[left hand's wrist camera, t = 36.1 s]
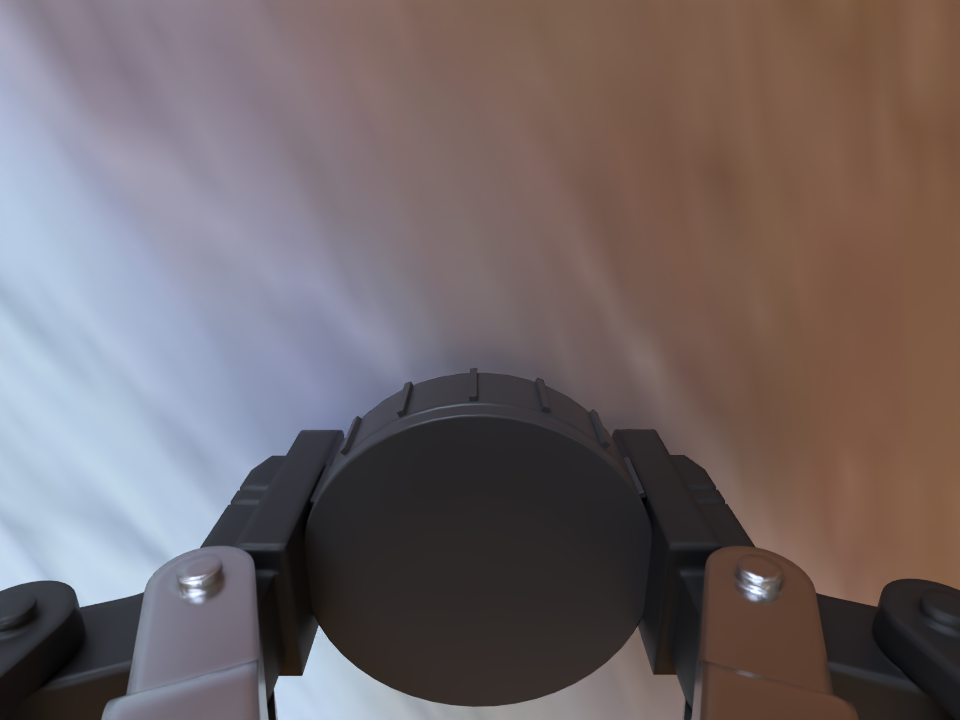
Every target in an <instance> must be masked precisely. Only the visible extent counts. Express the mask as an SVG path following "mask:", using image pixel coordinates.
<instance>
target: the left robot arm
mask: <svg viewBox="0 0 960 720" xmlns="http://www.w3.org/2000/svg"><path fill="white" fill-rule="evenodd" d="M612 439H613V440H614V442H615V443H616V445H617V447H618V448H619V450H620V452H621V454H622V456H623V458H626V457H629V459H630V461H631V463H632V466H633V468H634V470H635V472H636V474H637V477H638V479H639V481H640V483H641V485H642V488H643V490H644V492H645V494H646V497H645V498H642V502H643V504H644V506H645V509H646V511H647V514H648V516H649V518H650V521H651V524H652V531H653V532H652V543H651V552H650V561H649V569H648V578H647V587H646V595H645V604H644V612H643V617H642V619H641V621H640V622H639V624H638V627H639V630H640V633H641V637H642V640H643V643H644V646H645V649H646V653H647V656H648V659H649V662H650V665H651V668H652V672H653V675H677V676H678V679H679V682H680V685H681V688H682V690H683V693H684V696H685V700H684V707H683V715H682V720H960V590H957V589H955V588H952V587H949V586H947V585H943V584H940V583H937V582H932V581H927V580H920V579H900V580H896V581H892V582H891V583H889V584H887V585H886V586H885V587H884V588H883V591H882V593H881V596H880V600H879V604H878V607H875V606H870V605H866V604H861V603H856V602H852V601H847V600H843V599H838V598H833V597H829V596H825V595H821V594H818V593H816V592H815V588H814V585H813V583H812V581H811V579H810V578H809V577H808V575H807V574H806V573H805V572H804V571H803V570H802V569H801V568H800V567H798V566H797V565H796V564H794V563H793V562H791V561H790V560H788V559H786V558H784V557H782V556H780V555H778V554H776V553H773V552H770V551H768V550H764V549H760V548H756V547H755V546H754V544H753V543H752V541H751V540H750V538H749V537H748V535H747V533H746V532H745V530H744V529H743V527H742V526H741V524H740V523H739V521H738V520H737V518H736V517H735V515H734V514H733V512H732V510H731V509H730V507H729V506H728V504H725V500H724V498H723V497H722V495H721V494H720V492H719V491H718V490H716V486H715V484H714V483H713V481H712V480H711V478H710V477H709V475H708V474H707V472H706V471H705V469H703V468H702V467H700V466H699V465H698V464H696V463H695V462H693V461H692V460H690V459H689V458H688V457H686V456H685V455H670V454H669V452H668V451H667V449H666V447H665V446H664V444H663V442H662V440H661V439H660V437H659V435H658V433H657V432H656V431H655V430H615V431H614V433H613V436H612ZM344 440H345V438H344V434H343V432H342V430H302V431H301V432H300V433H299V435H298V436H297V438H296V440H295V442H294V443H293V445H292V447H291V448H290V450H289V452H288V454H287V455H286V456H271V457H270V458H268V459H267V460H265V461H264V462H263V463H261V464H260V465H258V466H257V467H255V468H254V469H253V470H251V472H250V473H249V475H248V476H247V478H246V479H245V481H244V482H243V484H242V485H241V487H240V491H237V493H236V494H235V496H234V497H233V499H232V500H231V505H228V506H227V508H226V509H225V511H224V512H223V514H222V515H221V517H220V519H219V520H218V522H217V523H216V525H215V526H214V528H213V529H212V531H211V532H210V534H209V535H208V537H207V538H206V540H205V541H204V543H203V544H202V546H201V547H200V549H196V550H192V551H190V552H187V553H184V554H182V555H180V556H178V557H176V558H174V559H172V560H170V561H169V562H167V563H166V564H164V565H163V566H162V567H160V568H159V569H158V570H157V571H156V572H155V573H154V574H153V575H152V577H151V578H150V579H149V581H148V583H147V585H146V588H145V591H144V592H143V593H140V594H137V595H134V596H130V597H126V598H122V599H118V600H113V601H108V602H104V603H99V604H94V605H90V606H85V607H81V608H80V607H79V603H78V600H77V596H76V593H75V591H74V589H73V588H72V587H71V586H69V585H67V584H65V583H62V582H58V581H36V582H30V583H25V584H20V585H17V586H14V587H11V588H8V589H5V590H3V591H0V720H278V715H277V707H276V700H275V694H274V687H275V684H276V681H277V679H278V676H302V675H303V672H304V669H305V666H306V662H307V659H308V656H309V653H310V650H311V647H312V644H313V641H314V638H315V634H316V631H317V628H318V625H319V624H318V622H317V620H316V618H315V616H314V614H313V611H312V604H311V596H310V587H309V579H308V570H307V562H306V553H305V545H304V530H305V527H306V524H307V521H308V518H309V515H310V512H311V509H312V507H310V499H311V497H312V495H313V492H314V490H315V488H316V486H317V484H318V481H319V479H320V477H321V475H322V473H323V470H324V468H325V466H326V465H329V466H331V464H332V462H333V459H334V457H335V455H336V454H337V452H338V450H339V448H340V446H341V444H342V442H343V441H344Z"/></svg>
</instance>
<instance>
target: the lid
mask: <svg viewBox="0 0 960 720" xmlns="http://www.w3.org/2000/svg"><path fill="white" fill-rule="evenodd" d="M645 497H646V494H645V492H644V490H643V488H642V485H641V483H640V481H639V479H638V477H637V474H636V472H635V470H634V468H633V466H632V463H631V461H630V459H629V457H626V458H623V456H622V454H621V452H620V450H619V448H618V447H617V445H616V443H615V442H614V440H613V439H612V437H611V436H610V434H609V433H608V432H607V431H606V429H605V428H604V427H603V425H602V423H601V421H600V418H599V416H598V413H597V412H596V411H594V410H592V411H591V412H590V413H589V412H588V411H587V410H586V409H585V408H583V407H582V406H580V405H579V404H577V403H576V402H575V401H573V400H572V399H570V398H569V397H567V396H565V395H563V394H561V393H559V392H557V391H555V390H553V389H551V388H550V387H547V386H545V384H544V381H543V380H542V379H539V378H537V380H536V382H533V381H530V380H527V379H523V378H518V377H513V376H509V375H501V374H490V373H477V368H473V369H470V373H466V374H457V375H450V376H444V377H439V378H435V379H432V380H428V381H425V382H421V383H418V384H416V385H414V386H413V384H412V382H408V383H406V384H405V386H404V389H403V390H402V391H400V392H398V393H396V394H395V395H393V396H391V397H389V398H388V399H386V400H384V401H383V402H381V403H380V404H379V405H377V406H376V407H375V408H374V409H372V410H371V411H370V412H368V413H367V414H366V415H365V416H364V417H363V418H362V419H361V418H360V417H358V416H357V417H356V418H355V419H354V420H353V423H352V425H351V427H350V430H349V432H348V434H347V437H346V438H345V440H344V441H343V442H342V444H341V446H340V448H339V450H338V452H337V454H336V455H335V457H334V459H333V462H332V464H331V466H329V465H326V466H325V468H324V470H323V473H322V475H321V477H320V479H319V481H318V484H317V486H316V488H315V490H314V492H313V495H312V497H311V499H310V507H312V509H311V512H310V515H309V518H308V521H307V524H306V527H305V530H304V545H305V553H306V562H307V570H308V579H309V587H310V596H311V604H312V611H313V614H314V616H315V618H316V620H317V622H318V624H319V626H320V627H321V628H322V630H323V631H324V633H325V634H326V636H327V637H328V639H329V640H330V641H331V642H332V643H333V645H334V646H335V647H336V648H337V649H338V650H339V651H340V652H341V653H342V655H344V656H345V657H346V658H347V659H348V660H349V661H350V662H352V663H353V664H354V665H355V666H356V667H357V668H359V669H360V670H362V671H363V672H365V673H366V674H368V675H369V676H371V677H372V678H374V679H375V680H377V681H379V682H381V683H383V684H385V685H387V686H389V687H391V688H393V689H395V690H398V691H400V692H403V693H405V694H408V695H411V696H414V697H417V698H421V699H424V700H428V701H432V702H437V703H443V704H449V705H458V706H472V707H478V706H499V705H507V704H515V703H520V702H524V701H529V700H533V699H537V698H540V697H543V696H546V695H549V694H552V693H555V692H557V691H559V690H562V689H564V688H566V687H568V686H570V685H573V684H575V683H576V682H578V681H580V680H581V679H583V678H585V677H586V676H588V675H590V674H591V673H593V672H594V671H595V670H597V669H598V668H599V667H601V666H602V665H603V664H605V663H606V662H607V661H608V660H609V659H610V658H611V657H612V656H613V655H614V654H615V653H617V652H618V651H619V650H620V649H621V648H622V646H623V645H624V644H625V643H626V641H627V640H628V639H629V638H630V636H631V635H632V634H633V632H634V631H635V629H636V627H637V626H638V624H639V622H640V621H641V619H642V617H643V612H644V604H645V595H646V587H647V578H648V569H649V561H650V552H651V543H652V532H653V531H652V524H651V521H650V518H649V516H648V514H647V511H646V509H645V506H644V504H643V502H642V498H645Z"/></svg>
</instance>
